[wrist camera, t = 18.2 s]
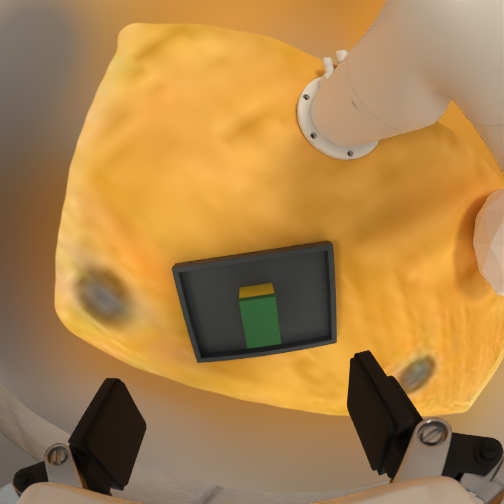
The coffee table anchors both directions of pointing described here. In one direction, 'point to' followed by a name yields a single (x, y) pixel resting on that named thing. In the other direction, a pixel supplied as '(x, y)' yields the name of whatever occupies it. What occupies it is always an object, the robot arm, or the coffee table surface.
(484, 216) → the geometric sphere
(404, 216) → the coffee table surface
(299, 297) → the tray
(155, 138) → the coffee table surface
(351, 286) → the coffee table surface
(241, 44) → the coffee table surface
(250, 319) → the sponge
